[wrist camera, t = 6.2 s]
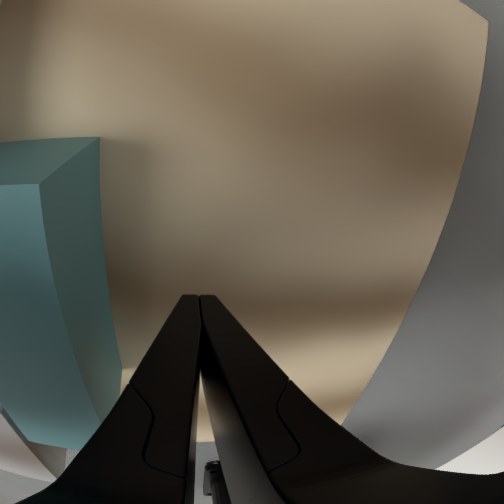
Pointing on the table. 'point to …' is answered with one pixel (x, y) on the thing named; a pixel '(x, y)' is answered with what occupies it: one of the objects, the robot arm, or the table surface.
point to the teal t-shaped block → (55, 292)
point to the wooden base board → (254, 166)
